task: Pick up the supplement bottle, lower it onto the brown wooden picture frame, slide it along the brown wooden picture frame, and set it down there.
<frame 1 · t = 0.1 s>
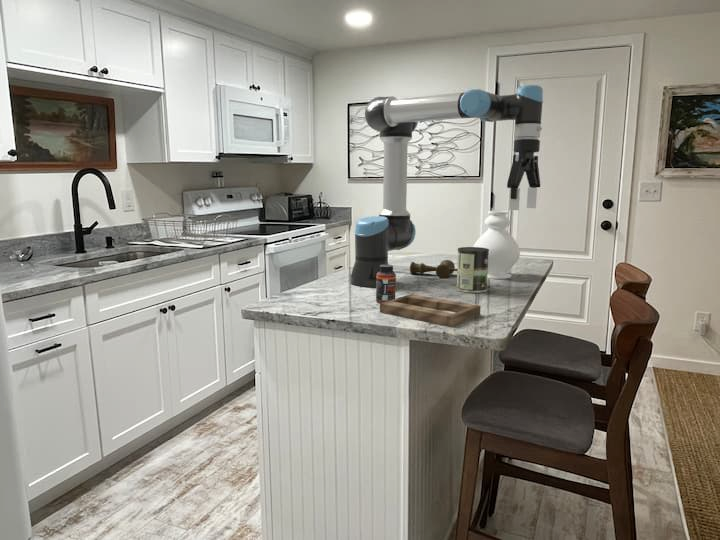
hand: (522, 209, 165), 28 cm above the countertop, fingers open, 13 cm apart
coffee can: (471, 290, 180), on the countertop
supplement bottle: (385, 302, 162), on the countertop
kendama: (435, 276, 205), on the countertop
decorative vase: (494, 276, 205), on the countertop
brown wooden picture frame: (431, 313, 148), on the countertop
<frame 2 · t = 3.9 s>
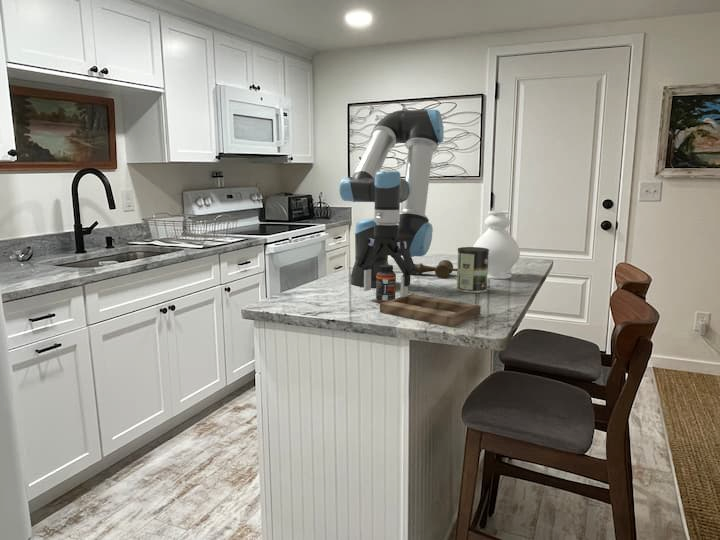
hand: (385, 293, 161), 3 cm above the countertop, fingers open, 13 cm apart
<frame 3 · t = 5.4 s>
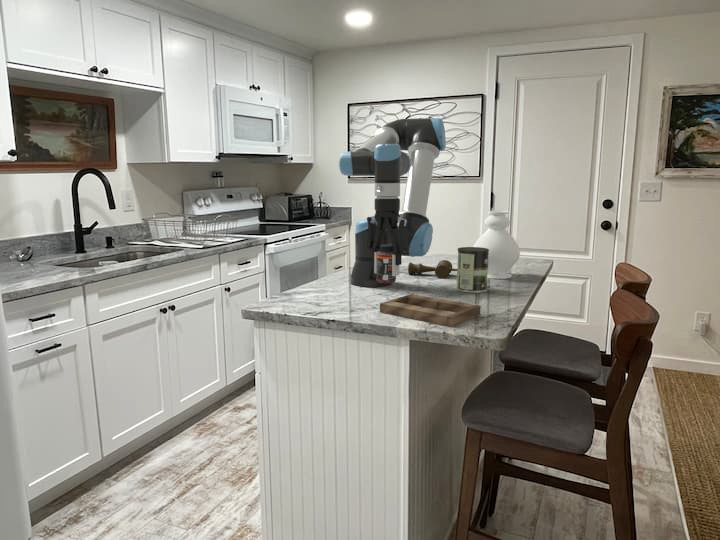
hand: (386, 273, 161), 9 cm above the countertop, fingers closed on supplement bottle, 6 cm apart
supplement bottle: (386, 282, 161), point 6 cm above the countertop, touching gripper
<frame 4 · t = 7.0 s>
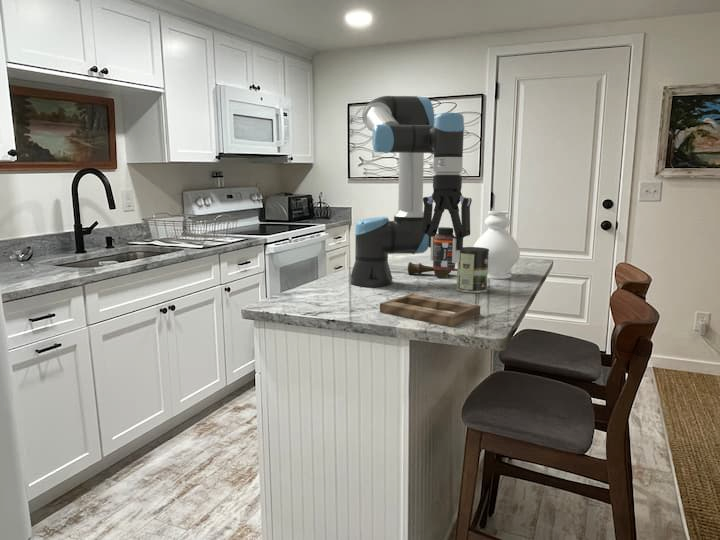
hand: (444, 260, 143), 15 cm above the countertop, fingers closed on supplement bottle, 6 cm apart
supplement bottle: (443, 270, 143), point 13 cm above the countertop, touching gripper
everything else where it was.
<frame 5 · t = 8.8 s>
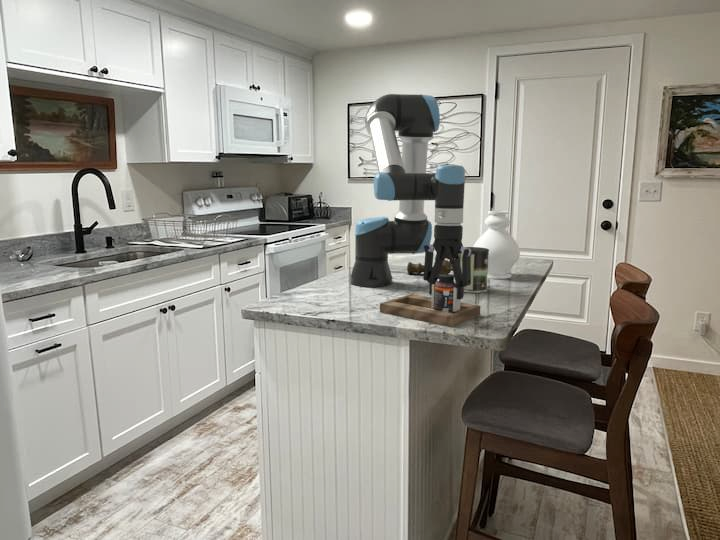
hand: (445, 308, 145), 2 cm above the countertop, fingers closed on supplement bottle, 6 cm apart
supplement bottle: (444, 316, 145), resting on brown wooden picture frame, touching gripper
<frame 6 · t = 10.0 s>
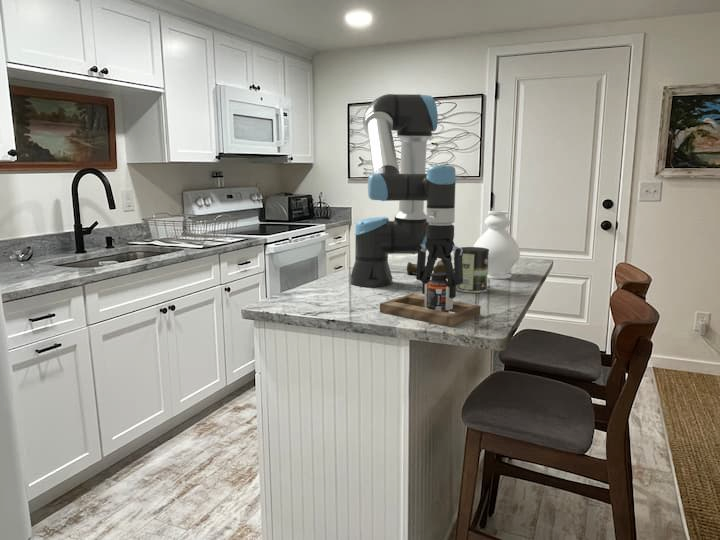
hand: (438, 307, 146), 2 cm above the countertop, fingers closed on supplement bottle, 6 cm apart
supplement bottle: (438, 314, 147), resting on brown wooden picture frame, touching gripper
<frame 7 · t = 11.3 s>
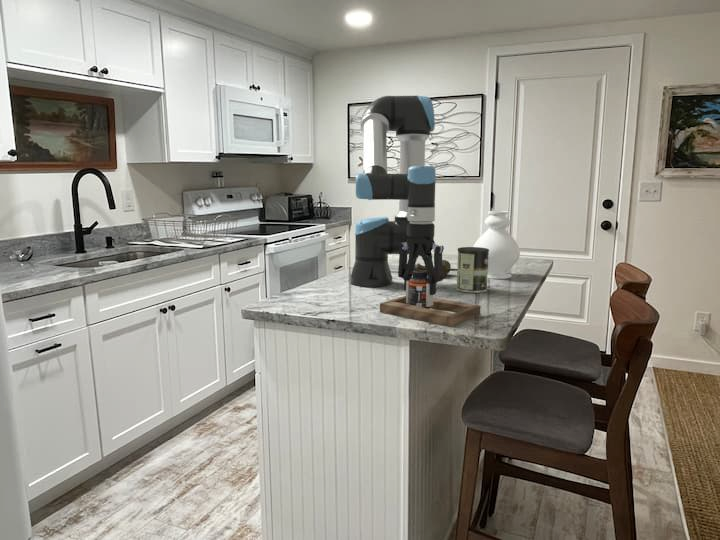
hand: (419, 303, 150), 2 cm above the countertop, fingers closed on supplement bottle, 6 cm apart
supplement bottle: (419, 310, 150), resting on brown wooden picture frame, touching gripper
when the fingers open (2 cm above the countertop, at t = 12.3 s): supplement bottle stays where it is, resting on brown wooden picture frame.
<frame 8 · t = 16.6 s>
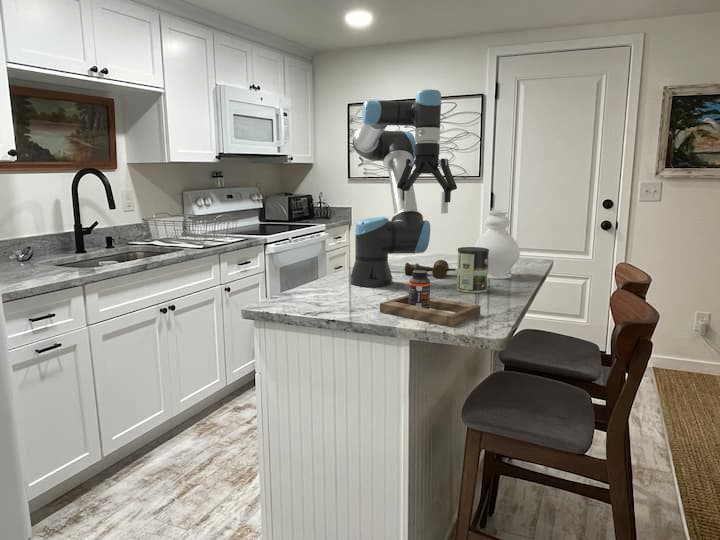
hand: (425, 212, 166), 27 cm above the countertop, fingers open, 13 cm apart
supplement bottle: (418, 311, 150), resting on brown wooden picture frame
at the end: supplement bottle 1.3 cm from the target spot on the brown wooden picture frame, point 0.1 cm above the brown wooden picture frame's base; supplement bottle tilted 0°; the gripper is holding nothing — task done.
